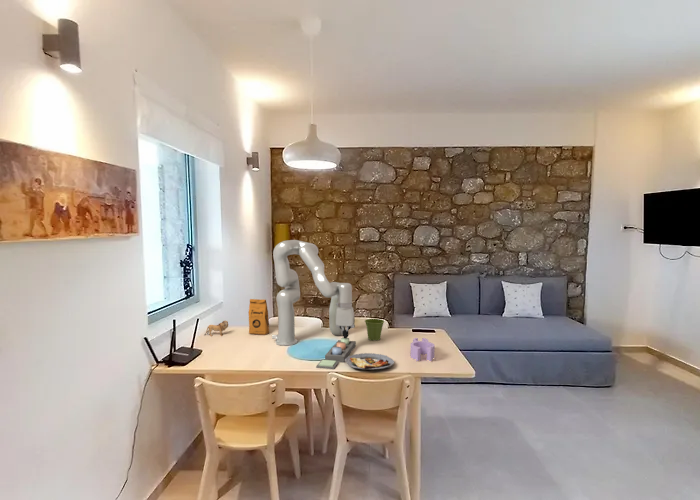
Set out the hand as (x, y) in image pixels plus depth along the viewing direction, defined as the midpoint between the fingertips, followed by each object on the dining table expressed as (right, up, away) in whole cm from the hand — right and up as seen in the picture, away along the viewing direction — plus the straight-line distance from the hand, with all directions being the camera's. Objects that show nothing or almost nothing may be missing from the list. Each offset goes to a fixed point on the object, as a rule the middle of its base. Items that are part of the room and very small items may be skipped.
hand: (345, 337), depth 244 cm
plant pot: (+17, -5, +19) cm, 26 cm away
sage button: (0, -5, 0) cm, 5 cm away
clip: (+41, -8, -12) cm, 43 cm away
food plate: (+12, -9, -26) cm, 30 cm away
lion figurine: (-80, -4, +27) cm, 85 cm away
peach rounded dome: (-2, -5, -8) cm, 10 cm away
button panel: (-2, -7, -8) cm, 11 cm away
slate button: (-4, -6, -17) cm, 19 cm away
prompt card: (-9, -8, -27) cm, 30 cm away
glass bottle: (-5, -4, +28) cm, 29 cm away
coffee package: (-55, -4, +31) cm, 63 cm away
